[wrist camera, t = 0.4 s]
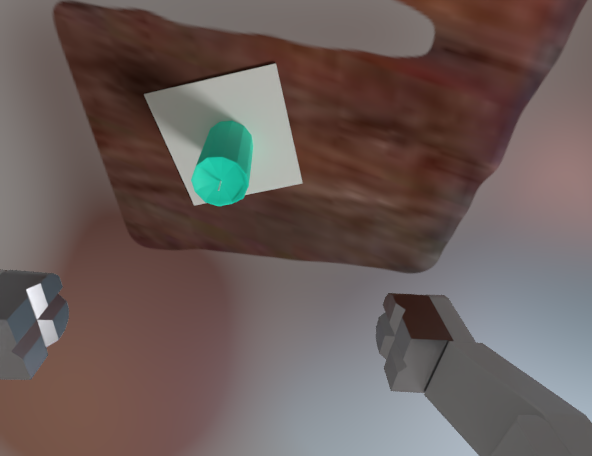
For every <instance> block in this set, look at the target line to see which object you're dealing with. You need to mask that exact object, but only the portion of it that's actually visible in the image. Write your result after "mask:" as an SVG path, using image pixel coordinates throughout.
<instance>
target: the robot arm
mask: <svg viewBox="0 0 592 456" xmlns="http://www.w3.org/2000/svg"><path fill="white" fill-rule="evenodd" d="M62 287H63V286H62V284H61V280H60V277H59V276H58V275H56V274H54V273H42V272H29V271H17V270H0V379H21V380H23V379H24V380H25V379H26V380H27V379H29V380H30V379H32V377H33V376H34V374H35V373H36V372H37V370H38V369H39V367H40V366H41V364H42V363H43V361H44V360H45V359H46V357H47V356H48V353H47V348H46V347H47V346H49V345H51V344H52V343H54V342H55V341H57V340H59V338H60V337H61V335H62V334H63V332H64V331H65V328H66V325H67V322H68V318H69V308H68V304H67V301H66V300H65V299H63V298H62V297H61V296H60V295H59V294H58V293H59V292H60V290H61V289H62ZM383 306H384V309H385V313H384V314H382V315H381V316H380V317H379V319H378V322H377V326H376V342H377V347H378V350H379V353H380V354H381V355H382V356H383V357H384V358H385V359H386V363H385V366H384V370H385V373H386V376H387V380H388V383H389V386H390V389H391V391H400V392H417V393H425V394H424V395H425V396H426V397H427V398H428V400H429V401H430V402H431V403H432V404H433V405H434V406H435V407H436V408H437V410H438V411H439V412H440V413H441V414H442V415H443V416H444V417H445V418H446V419H447V420H448V422H449V423H450V424H451V425H452V426H453V427H454V428H455V429H456V431H457V432H458V433H459V434H460V435H461V436H462V437H463V438H464V439H465V440H466V441H467V443H468V444H469V445H470V446H471V447H472V448H473V449H474V450H475V451H476V452H477V454H478V455H479V456H592V423H591V422H590V420H589V419H588V418H587V416H586V415H584V414H583V413H581V412H580V411H579V410H577V409H576V408H574V407H573V406H572V405H570V404H569V403H567V402H566V401H564V400H563V399H562V398H560V397H559V396H557V395H556V394H554V393H553V392H552V391H550V390H549V389H547V388H546V387H544V386H543V385H542V384H540V383H539V382H537V381H536V380H534V379H533V378H531V377H530V376H529V375H527V374H526V373H524V372H523V371H521V370H520V369H519V368H517V367H516V366H514V365H513V364H511V363H510V362H509V361H507V360H506V359H504V358H503V357H501V356H500V355H498V354H497V353H496V352H494V351H493V350H491V349H490V348H488V347H487V346H486V345H484V344H483V343H476V342H475V340H474V338H473V337H472V335H471V334H470V332H469V330H468V329H467V327H466V326H465V324H464V322H463V321H462V319H461V318H460V316H459V314H458V313H457V311H456V310H455V308H454V307H453V306H452V303H451V302H450V300H449V299H448V298H447V297H446V296H444V295H414V294H395V293H388V294H387V296H386V297H385V300H384V303H383Z"/></svg>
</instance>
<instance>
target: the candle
mask: <svg viewBox="0 0 592 456" xmlns="http://www.w3.org/2000/svg"><path fill="white" fill-rule="evenodd" d="M252 154H253V141H252V135H251V134H250V133H249V131H248V130H247V129H246V128H245V126H244V125H241V124H239V123H237V122H234V121H221V122H219V123H217V124H216V125H215V126H213V127H212V128H210V131H209V133H208V136H207V138H206V141H205V144H204V146H203V149H202V151H201V154H200V156H199V159H198V162H197V164H196V167H195V170H194V172H193V175H192V178H191V182H192V185H193V188H194V191H195V192H196V193H197V194H198V196H199V197H200V198H201V199H202V200H203V201H204V202H206V203H210V204H213V205H216V206H223V205H228V204H233V203H235V202H237V201H239V200H241V199H243V198H244V196H245V194H246V191H247V189H248V187H249V180H250V172H251V163H252Z"/></svg>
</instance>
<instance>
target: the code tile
mask: <svg viewBox="0 0 592 456" xmlns="http://www.w3.org/2000/svg"><path fill="white" fill-rule="evenodd" d="M144 96H145V99H146V101H147V103H148V105H149V107H150V110H151V112H152V114H153V116H154V118H155V120H156V123H157V125H158V127H159V129H160V131H161V134H162V136H163V138H164V140H165V142H166V145H167V147H168V149H169V151H170V153H171V156H172V158H173V160H174V162H175V164H176V167H177V169H178V171H179V173H180V175H181V177H182V180H183V182H184V184H185V186H186V188H187V191H188V193H189V195H190V197H191V199H192V202H193V204H194V205H199V204H204V203H206V202H204V201H203V200H202V199H201V198H200V197H199V196H198V194H197V193H196V192H195V191H194V188H193V185H192V182H191V178H192V175H193V172H194V170H195V167H196V164H197V162H198V159H199V156H200V154H201V151H202V149H203V146H204V144H205V141H206V138H207V136H208V133H209V131H210V128H212V127H213V126H215V125H216V124H217V123H219V122H221V121H234V122H237V123H239V124H241V125H244V126H245V128H246V129H247V130H248V131H249V133H250V134H251V135H252V141H253V154H252V163H251V172H250V180H249V187H248V189H247V191H246V194H245V195H248V194H253V193H257V192H262V191H267V190H272V189H277V188H282V187H287V186H292V185H296V184H301V183H302V178H301V174H300V169H299V165H298V160H297V156H296V151H295V147H294V142H293V138H292V133H291V129H290V124H289V120H288V115H287V111H286V106H285V102H284V98H283V93H282V89H281V84H280V80H279V75H278V71H277V66H276V63H274V64H269V65H265V66H261V67H257V68H252V69H248V70H244V71H240V72H235V73H231V74H227V75H223V76H218V77H214V78H210V79H206V80H201V81H197V82H193V83H189V84H184V85H180V86H176V87H172V88H167V89H163V90H159V91H155V92H150V93H146V94H144Z"/></svg>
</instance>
